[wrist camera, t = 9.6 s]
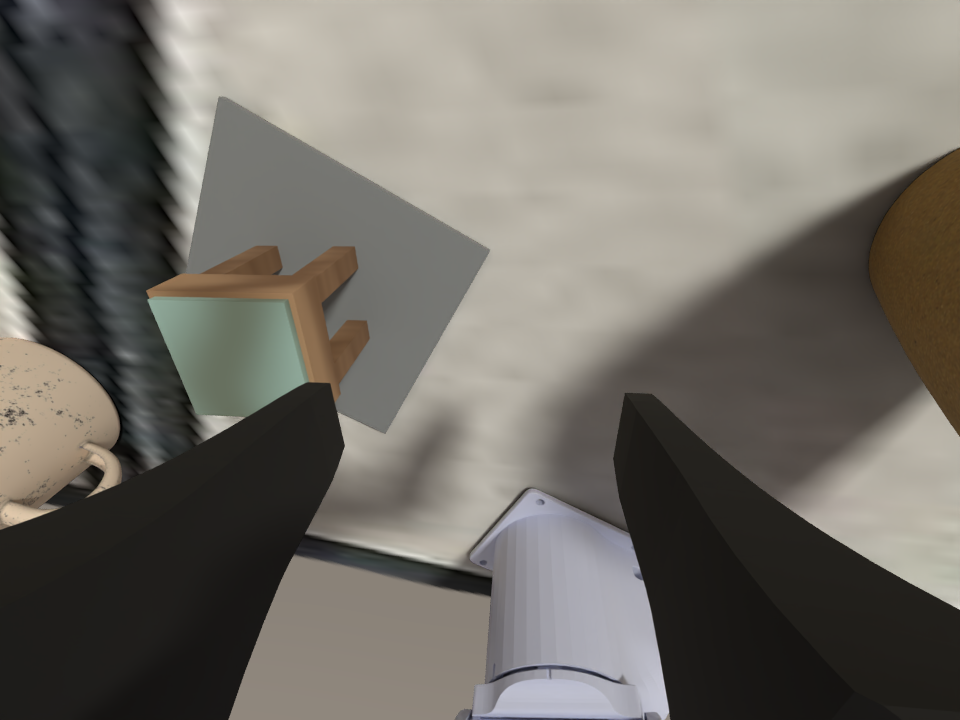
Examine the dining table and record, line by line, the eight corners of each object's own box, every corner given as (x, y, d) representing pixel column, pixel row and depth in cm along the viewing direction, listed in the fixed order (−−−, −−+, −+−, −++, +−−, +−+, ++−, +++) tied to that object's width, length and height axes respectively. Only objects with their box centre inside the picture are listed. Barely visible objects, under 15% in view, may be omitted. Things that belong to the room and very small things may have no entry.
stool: (358, 241, 19) (288, 297, 13) (374, 342, 21) (320, 424, 16) (250, 241, 19) (139, 293, 14) (278, 339, 22) (193, 418, 16)
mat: (489, 249, 19) (489, 252, 19) (387, 429, 25) (385, 433, 24) (224, 96, 17) (218, 96, 17) (179, 331, 23) (174, 334, 22)
